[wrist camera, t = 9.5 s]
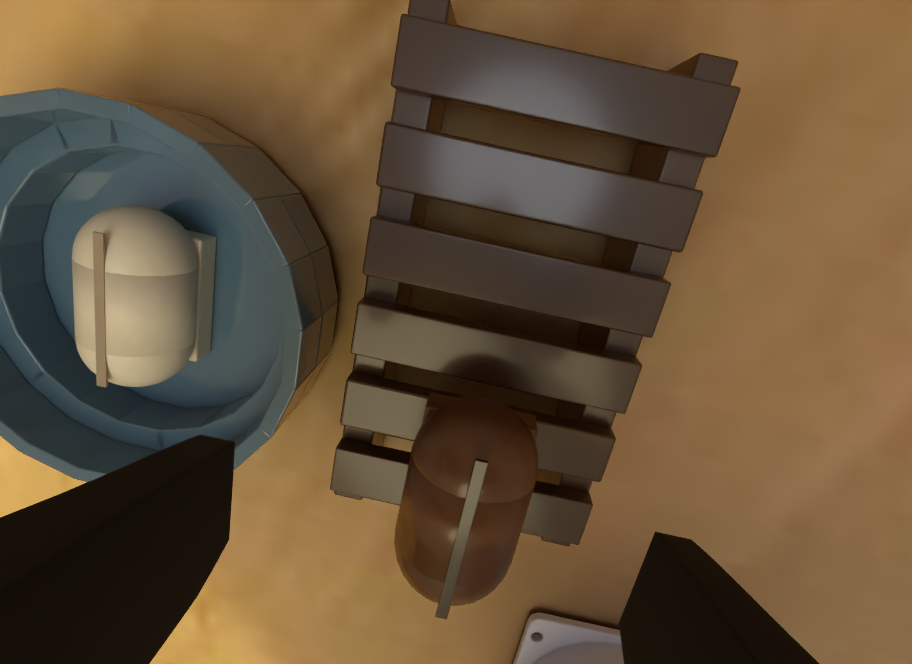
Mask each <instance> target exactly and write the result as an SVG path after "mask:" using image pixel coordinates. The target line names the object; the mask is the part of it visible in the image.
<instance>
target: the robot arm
mask: <svg viewBox="0 0 912 664" xmlns="http://www.w3.org/2000/svg"><path fill="white" fill-rule="evenodd" d="M234 454H235V442H233V441H228V440H224V439H219V438H214V437H210V436H205V435H197V436H195V437H192V438H189V439H187V440H184V441H182V442H179V443H177V444H175V445H172V446H170V447H167V448H165V449H163V450H161V451H158V452H156V453H154V454H151V455H149V456H147V457H145V458H142V459H140V460H138V461H135V462H133V463H131V464H129V465H126V466H124V467H122V468H119V469H117V470H115V471H113V472H110V473H108V474H106V475H103V476H101V477H99V478H96V479H94V480H92V481H89V482H87V483H85V484H82V485H80V486H78V487H75V488H73V489H71V490H69V491H66V492H64V493H61V494H59V495H57V496H54V497H51V498H49V499H46V500H44V501H41V502H39V503H36V504H34V505H31V506H29V507H26V508H24V509H21V510H19V511H16V512H14V513H11V514H8V515H6V516H3V517H1V518H0V664H149V663H150V662H151V660H152V659H153V658H154V656H155V655H156V654H157V652H158V651H159V649H160V648H161V647H162V645H163V644H164V642H165V641H166V640H167V638H168V637H169V635H170V634H171V633H172V631H173V630H174V628H175V627H176V626H177V624H178V623H179V621H180V620H181V619H182V617H183V616H184V614H185V613H186V612H187V610H188V609H189V607H190V606H191V605H192V603H193V602H194V600H195V599H196V597H197V596H198V594H199V592H200V591H201V589H202V587H203V585H204V584H205V582H206V580H207V578H208V577H209V575H210V573H211V572H212V570H213V568H214V566H215V564H216V562H217V561H218V559H219V557H220V555H221V553H222V551H223V550H224V548H225V546H226V544H227V542H228V540H229V531H230V516H231V501H232V485H233V470H234ZM619 629H620V630H617V629H612V628H608V627H603V626H599V625H594V624H590V623H585V622H581V621H576V620H572V619H567V618H563V617H558V616H554V615H549V614H545V613H534V614H532V615H531V616H530V617H529V618H528V620H527V623H526V626H525V629H524V632H523V635H522V638H521V641H520V644H519V647H518V650H517V653H516V656H515V659H514V662H513V664H819V663H818V662H817V661H816V660H815V659H814V658H813V657H812V656H811V655H810V654H809V653H808V652H807V651H806V650H805V649H804V648H803V647H802V646H801V645H800V644H799V643H798V642H796V641H795V640H794V639H793V638H792V637H791V636H790V635H789V634H788V633H787V632H786V631H785V630H784V629H783V628H782V627H781V626H780V625H779V624H778V623H777V622H776V621H775V620H774V619H773V618H772V617H771V616H770V615H769V614H768V613H767V612H766V611H765V610H764V609H763V608H762V607H761V606H760V605H759V604H758V603H757V602H756V601H755V600H754V599H753V598H752V597H751V596H750V595H749V594H748V593H747V592H746V591H745V590H744V589H743V588H742V587H741V586H740V585H739V584H738V583H737V582H736V581H735V580H734V579H733V578H732V577H731V576H730V575H729V574H728V573H727V572H726V571H725V570H724V569H723V568H722V567H721V566H720V565H719V564H718V563H716V562H715V561H714V560H713V559H712V558H711V557H710V556H709V555H708V554H707V553H706V552H705V551H704V550H703V549H701V548H700V547H699V546H698V545H697V544H696V543H695V542H693V541H692V540H691V539H686V538H682V537H677V536H672V535H668V534H663V533H658V532H655V534H654V536H653V539H652V541H651V544H650V546H649V549H648V551H647V554H646V556H645V559H644V561H643V564H642V566H641V569H640V571H639V574H638V576H637V579H636V581H635V584H634V586H633V589H632V592H631V594H630V597H629V599H628V602H627V604H626V607H625V609H624V612H623V614H622V617H621V619H620V622H619ZM535 632H539V633H538V634H535Z"/></svg>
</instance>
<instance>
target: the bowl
mask: <svg viewBox="0 0 912 664" xmlns="http://www.w3.org/2000/svg"><path fill="white" fill-rule="evenodd" d="M125 205H139V206H145V207H149V208H152V209H155V210H158V211H161V212H163V213H165V214H167V215H168V216H170V217H172V218H174V219H175V220H176V221H177V222H178V223H180V224H181V225H182V226H183V227H184V228H185V230H189V231H194V232H198V233H203V234H207V235H212V236H215V237H216V253H215V272H214V291H213V310H212V329H211V348H210V353H209V354H207V355H206V356H204V357H203V358H201V359H200V360H198V361H195V362H194V361H190V360H188V361H187V363H186V364H185V366H184V367H183V368H182V369H181V370H180V371H178V372H177V373H176V374H175V375H174V376H172V377H170V378H168V379H166V380H164V381H163V382H160V383H157V384H154V385H149V386H143V387H128V386H120V385H116V384H113V383H111V382H108V387H101V386H97V380H96V374H95V373H94V372H92V371H91V370H90V369H89V368H88V367H87V366H86V364H85V363H84V362H83V360H82V359H81V357H80V355H79V353H78V350H77V346H76V341H75V325H74V300H73V276H72V250H73V243H74V241H75V238H76V235H77V233H78V232H79V230H80V229H81V227H82V226H83V225H84V224H85V223H86V222H87V221H88V220H89V219H91V218H92V217H93V216H94V215H96V214H98V213H100V212H101V211H103V210H106V209H110V208H113V207H116V206H125ZM337 300H338V296H337V290H336V285H335V280H334V274H333V269H332V263H331V258H330V252H329V247H328V246H327V243H326V241H325V239H324V237H323V235H322V233H321V231H320V229H319V228H318V226H317V224H316V222H315V220H314V218H313V216H312V214H311V212H310V210H309V208H308V206H307V204H306V202H305V200H304V198H303V197H302V195H301V194H300V191H299V190H298V189H297V188H296V187H295V186H294V185H293V184H292V183H291V182H290V181H289V180H288V179H287V178H286V177H285V176H284V174H283V173H282V172H281V171H280V170H279V169H278V168H277V167H276V166H275V165H274V164H273V163H272V162H271V161H270V160H269V159H268V158H267V156H266V155H265V154H264V153H263V152H262V151H261V150H260V149H258V148H257V147H256V146H255V145H253V144H251V143H249V142H248V141H246V140H244V139H243V138H241V137H239V136H237V135H236V134H234V133H232V132H231V131H229V130H227V129H225V128H224V127H222V126H220V125H219V124H217V123H215V122H213V121H212V120H210V119H208V118H207V117H203V116H201V115H197V114H192V113H188V112H183V111H179V110H174V109H170V108H165V107H161V106H156V105H151V104H147V103H141V102H136V101H130V100H125V99H119V98H114V97H108V96H103V95H97V94H92V93H86V92H81V91H75V90H70V89H64V88H53V89H46V90H39V91H32V92H25V93H18V94H11V95H4V96H0V436H1V437H3V438H4V439H5V440H6V441H8V442H9V443H10V444H11V445H12V446H14V447H15V448H16V449H17V450H19V451H20V452H22V453H23V454H25V455H27V456H29V457H31V458H33V459H35V460H37V461H39V462H42V463H44V464H46V465H48V466H50V467H52V468H54V469H56V470H58V471H60V472H62V473H64V474H66V475H68V476H70V477H72V478H74V479H77V480H81V481H86V482H89V481H92V480H94V479H96V478H99V477H101V476H103V475H106V474H108V473H110V472H113V471H115V470H117V469H119V468H122V467H124V466H126V465H129V464H131V463H133V462H135V461H138V460H140V459H142V458H145V457H147V456H149V455H151V454H154V453H156V452H158V451H161V450H163V449H165V448H167V447H170V446H172V445H175V444H177V443H179V442H182V441H184V440H187V439H189V438H192V437H195V436H197V435H205V436H210V437H214V438H219V439H224V440H228V441H233V442H235V454H234V469H236V468H237V467H238V466H240V465H241V464H242V463H243V462H244V461H245V460H246V459H247V458H249V457H250V456H251V455H252V454H253V453H254V452H255V451H257V450H258V449H259V448H260V447H261V446H262V445H263V444H264V443H266V442H267V441H268V440H269V439H270V438H271V437H272V436H273V435H274V434H275V432H276V431H277V430H278V429H279V427H280V426H281V425H282V424H283V423H284V421H285V420H286V419H287V418H288V417H289V415H290V414H291V413H292V412H293V410H294V409H295V408H296V407H297V406H298V404H299V403H300V402H301V401H302V399H303V398H304V397H305V396H306V395H307V393H308V392H309V391H310V390H311V388H312V386H313V384H314V382H315V380H316V378H317V376H318V375H319V373H320V371H321V369H322V367H323V365H324V363H325V361H326V359H327V357H328V355H329V353H330V352H331V348H332V342H333V334H334V327H335V320H336V312H337V305H338V301H337Z"/></svg>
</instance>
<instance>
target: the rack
mask: <svg viewBox="0 0 912 664" xmlns="http://www.w3.org/2000/svg"><path fill="white" fill-rule="evenodd" d="M737 65H738V61H737V60H732V59H728V58H723V57H719V56H714V55H710V54H705V53H699V54H697V55H695V56H693V57H692V58H690V59H688V60H686V61H684V62H682V63H681V64H679V65H677V66H675V67H673V68H672V69H670V70H668V71H663V70H658V69H654V68H649V67H645V66H640V65H636V64H631V63H627V62H622V61H617V60H613V59H608V58H604V57H599V56H595V55H590V54H586V53H581V52H576V51H572V50H567V49H563V48H558V47H554V46H549V45H544V44H540V43H535V42H531V41H526V40H522V39H517V38H513V37H508V36H503V35H499V34H494V33H490V32H485V31H481V30H476V29H472V28H467V27H462V26H458V25H457V24H456V20H455V16H454V13H453V9H452V5H451V1H450V0H410V1H409V8H408V14H402V15H401V19H400V26H399V32H398V39H397V46H396V52H395V59H394V66H393V72H392V79H391V86H392V87H394V88H395V89H396V92H395V99H394V105H393V112H392V118H391V122H386V123H385V127H384V133H383V140H382V147H381V153H380V160H379V167H378V173H377V180H376V184H377V185H378V186H379V187H381V190H380V196H379V203H378V209H377V215H376V216H373V217H371V219H370V226H369V232H368V239H367V246H366V252H365V259H364V266H363V274H365V275H367V281H366V288H365V294H364V297H363V298H362V299H361V300H360V301H359V302H358V305H357V312H356V319H355V325H354V332H353V339H352V345H351V353H352V354H355V359H354V366H353V372H352V373H351V374H350V376H349V377H348V379H347V380H346V386H345V393H344V400H343V406H342V413H341V420H340V423H341V425H344V431H343V437H342V439H341V440H340V442H339V444H338V446H337V448H336V452H335V458H334V465H333V472H332V478H331V485H330V490H333V491H334V493H335V494H336V495H341V496H345V497H350V498H354V499H359V500H361V499H362V498H363V497H364V498H369V499H373V500H378V501H382V502H387V503H391V504H396V505H400V504H401V499H402V494H403V490H404V485H405V480H406V475H407V470H408V465H409V460H410V456H411V452H406V451H402V450H397V449H393V448H388V447H384V446H383V441H384V435H389V436H393V437H398V438H402V439H407V440H411V441H414V440H415V437H416V435H417V433H418V431H419V429H420V428H421V426H422V421H423V416H424V412H425V407H426V403H427V400H428V396H429V394H430V393H437V394H441V395H446V396H450V397H455V398H459V399H460V398H464V397H468V396H464V395H459V394H455V393H450V392H446V391H441V390H437V389H432V388H428V387H423V386H419V385H414V384H410V383H405V382H400V381H396V380H395V376H396V370H397V365H398V364H401V365H405V366H410V367H415V368H419V369H424V370H428V371H433V372H437V373H442V374H446V375H451V376H455V377H460V378H464V379H469V380H473V381H478V382H482V383H487V384H491V385H496V386H500V387H505V388H509V389H514V390H518V391H523V392H528V393H532V394H537V395H541V396H546V397H550V398H555V399H559V400H560V402H559V405H558V409H557V412H556V415H555V416H554V415H550V414H545V413H541V412H536V411H531V410H527V409H522V408H518V407H513V406H509V405H506V406H507V407H509V408H511V409H512V410H513V411H518V412H522V413H527V414H531V415H535V416H536V422H537V428H538V435H537V438H536V441H535V444H536V448H537V452H538V469H539V471H538V474H537V479H536V484H535V487H534V490H533V493H532V497H531V500H530V503H529V507H528V510H527V513H526V516H525V520H524V523H523V526H522V529H521V532H522V533H527V534H531V535H536V536H540V537H541V539H542V540H543V541H547V542H551V543H556V544H560V545H565V546H570V544H571V543H572V544H576V545H579V543H580V540H581V537H582V534H583V531H584V529H585V526H586V523H587V520H588V517H589V515H590V512H591V509H592V506H593V504H592V501H591V497H590V494H589V489H590V486H591V484H592V481H596V482H600V481H601V480H602V477H603V474H604V471H605V468H606V466H607V463H608V460H609V457H610V454H611V451H612V449H613V446H614V443H615V440H616V438H615V436H614V434H613V431H612V429H611V426H612V423H613V420H614V418H615V415H616V412H618V413H622V414H625V413H626V410H627V407H628V405H629V402H630V399H631V396H632V393H633V390H634V388H635V385H636V382H637V379H638V376H639V374H640V371H641V368H642V364H641V363H640V362H639V360H638V359H637V358H636V354H637V352H638V349H639V346H640V343H641V340H642V337H643V336H645V337H652V336H653V334H654V331H655V328H656V326H657V323H658V320H659V317H660V314H661V311H662V309H663V306H664V303H665V300H666V297H667V295H668V292H669V289H670V286H671V283H670V282H668V281H667V280H665V279H664V278H663V277H664V274H665V271H666V268H667V266H668V263H669V260H670V257H671V254H672V251H674V252H682V251H683V249H684V246H685V243H686V240H687V238H688V235H689V232H690V229H691V226H692V224H693V221H694V218H695V215H696V212H697V209H698V207H699V204H700V201H701V198H702V195H703V192H702V191H701V190H697V189H694V188H695V185H696V182H697V180H698V177H699V174H700V171H701V168H702V165H703V162H704V160H705V158H712V157H716V156H717V154H718V151H719V149H720V146H721V143H722V140H723V137H724V135H725V132H726V129H727V126H728V123H729V120H730V118H731V115H732V112H733V109H734V106H735V104H736V101H737V98H738V95H739V92H740V88H739V87H736V86H731V82H732V79H733V76H734V74H735V71H736V68H737ZM446 101H448V102H453V103H457V104H462V105H466V106H471V107H476V108H480V109H485V110H489V111H494V112H498V113H503V114H507V115H512V116H516V117H521V118H526V119H530V120H535V121H539V122H544V123H548V124H553V125H557V126H562V127H566V128H571V129H576V130H580V131H585V132H589V133H594V134H598V135H603V136H607V137H612V138H617V139H621V140H626V141H630V142H635V143H638V147H637V150H636V153H635V156H634V160H633V163H632V166H631V170H630V173H629V174H624V173H620V172H615V171H611V170H606V169H602V168H597V167H593V166H588V165H584V164H579V163H574V162H570V161H565V160H561V159H556V158H552V157H547V156H543V155H538V154H534V153H529V152H524V151H520V150H515V149H511V148H506V147H502V146H497V145H493V144H488V143H484V142H479V141H474V140H470V139H465V138H461V137H456V136H452V135H447V134H443V133H440V131H441V126H442V121H443V115H444V110H445V104H446ZM428 197H429V198H434V199H438V200H443V201H448V202H452V203H457V204H461V205H466V206H470V207H475V208H479V209H484V210H488V211H493V212H497V213H502V214H507V215H511V216H516V217H520V218H525V219H529V220H534V221H538V222H543V223H547V224H552V225H556V226H561V227H566V228H570V229H575V230H579V231H584V232H588V233H593V234H597V235H602V236H606V237H610V238H609V242H608V245H607V248H606V251H605V255H604V258H603V261H602V264H598V263H594V262H589V261H585V260H580V259H576V258H571V257H567V256H562V255H558V254H553V253H549V252H544V251H539V250H535V249H530V248H526V247H521V246H517V245H512V244H508V243H503V242H499V241H494V240H490V239H485V238H480V237H476V236H471V235H467V234H462V233H458V232H453V231H449V230H444V229H440V228H435V227H431V226H426V225H423V224H424V218H425V213H426V207H427V202H428ZM412 285H414V286H419V287H423V288H428V289H432V290H437V291H441V292H446V293H450V294H455V295H459V296H464V297H468V298H473V299H478V300H482V301H487V302H491V303H496V304H500V305H505V306H509V307H514V308H518V309H523V310H527V311H532V312H536V313H541V314H545V315H550V316H555V317H559V318H564V319H568V320H573V321H577V322H582V323H583V327H582V330H581V333H580V337H579V340H578V343H577V344H576V343H571V342H567V341H562V340H558V339H553V338H549V337H544V336H540V335H535V334H531V333H526V332H522V331H517V330H512V329H508V328H503V327H499V326H494V325H490V324H485V323H481V322H476V321H472V320H467V319H463V318H458V317H454V316H449V315H445V314H440V313H436V312H431V311H426V310H422V309H417V308H413V307H408V305H409V300H410V294H411V289H412Z"/></svg>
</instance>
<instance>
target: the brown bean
mask: <svg viewBox="0 0 912 664" xmlns="http://www.w3.org/2000/svg"><path fill="white" fill-rule="evenodd" d="M537 435H538V428H537V422H536V416H535V415H531V414H527V413H522V412H518V411H513V410H512V409H511V408H509V407H507V406H506V405H504V404H502V403H500V402H498V401H495V400H493V399H489V398H484V397H464V398H460V399H459V398H455V397H450V396H446V395H441V394H437V393H430V394H429V396H428V400H427V403H426V407H425V412H424V416H423V421H422V426H421V428H420V429H419V431H418V433H417V435H416V437H415V440H414V443H413V446H412V451H411V456H410V460H409V465H408V470H407V475H406V480H405V485H404V490H403V494H402V499H401V504H400V509H399V514H398V519H397V523H396V529H395V541H394V544H395V551H396V557H397V561H398V564H399V566H400V569H401V571H402V573H403V575H404V577H405V578H406V580H407V581H408V583H409V584H410V585H411V586H412V587H413V588H414V589H415V590H416V591H417V592H418V593H420V594H421V595H422V596H424V597H425V598H427V599H429V600H431V601H433V602H436V603H438V607H437V611H436V617H438V618H443V619H447V616H448V613H449V609H450V606H456V605H465V604H470V603H473V602H476V601H478V600H480V599H482V598H483V597H485V596H487V595H488V594H489V593H491V592H492V591H493V590H494V589H495V588H496V587H497V586H498V585H499V583H500V582H501V581H502V579H503V578H504V577H505V575H506V573H507V571H508V569H509V566H510V564H511V562H512V559H513V555H514V552H515V549H516V546H517V542H518V539H519V536H520V533H521V529H522V526H523V523H524V520H525V516H526V513H527V510H528V507H529V503H530V500H531V497H532V493H533V490H534V487H535V484H536V479H537V474H538V452H537V448H536V444H535V441H536V438H537Z"/></svg>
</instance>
